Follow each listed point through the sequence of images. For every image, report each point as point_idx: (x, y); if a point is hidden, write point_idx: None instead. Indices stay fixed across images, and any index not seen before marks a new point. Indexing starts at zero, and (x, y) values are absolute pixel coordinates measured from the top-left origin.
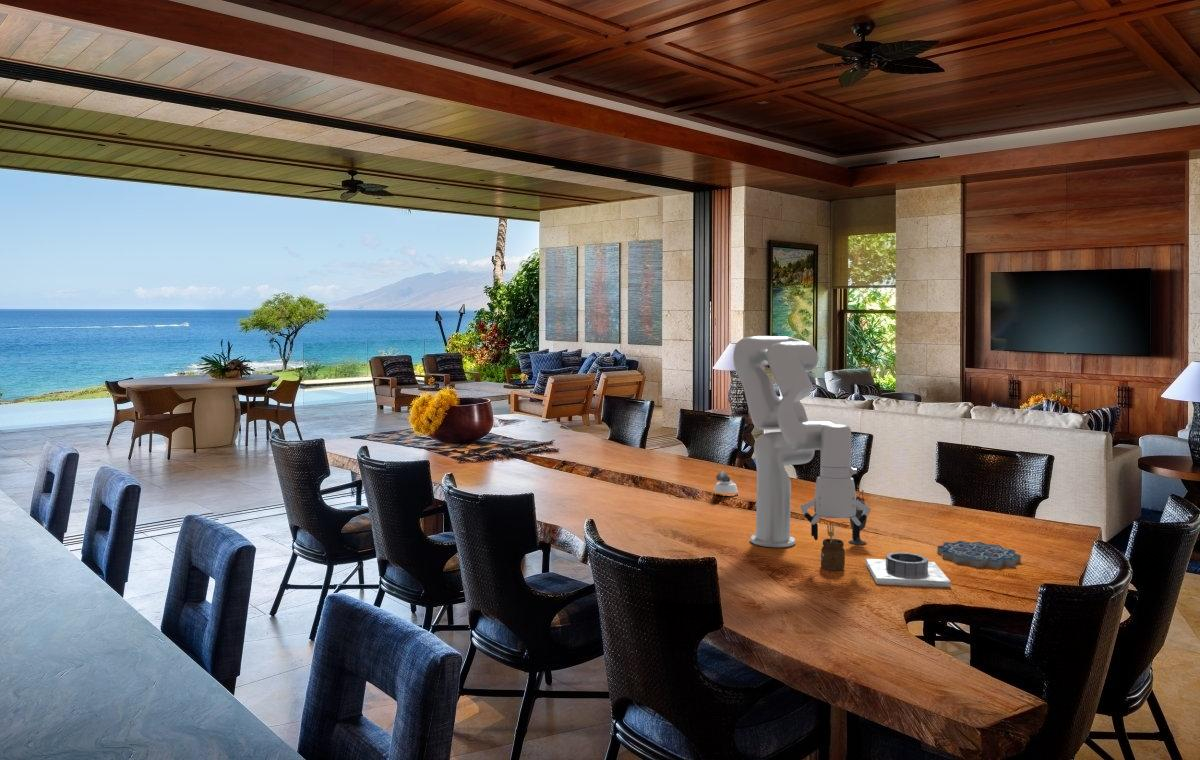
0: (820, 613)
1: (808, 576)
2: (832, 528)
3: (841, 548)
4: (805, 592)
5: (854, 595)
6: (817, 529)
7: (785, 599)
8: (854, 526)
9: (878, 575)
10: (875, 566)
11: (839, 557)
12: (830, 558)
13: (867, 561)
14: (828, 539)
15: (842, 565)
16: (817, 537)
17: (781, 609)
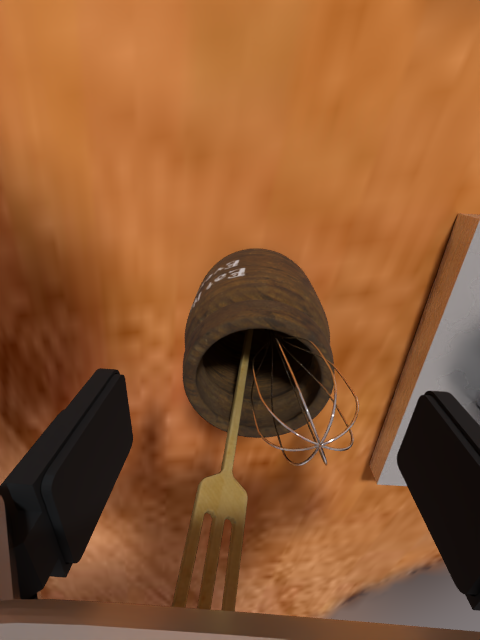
0: (169, 605)
1: (143, 415)
2: (228, 574)
3: (304, 388)
4: (137, 527)
5: (265, 536)
6: (95, 522)
7: (91, 561)
8: (468, 593)
9: (396, 464)
10: (449, 361)
11: (280, 382)
12: (233, 378)
13: (455, 280)
14: (230, 333)
15: (294, 346)
16: (125, 457)
17: (90, 596)
